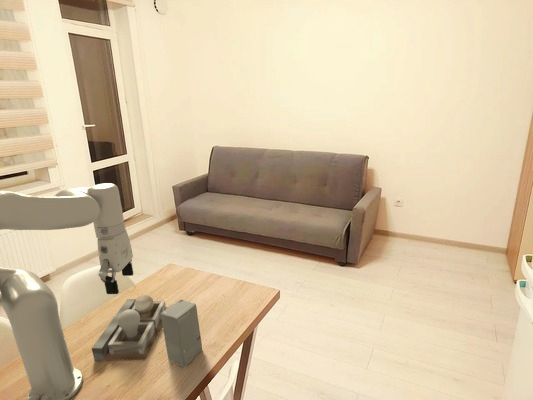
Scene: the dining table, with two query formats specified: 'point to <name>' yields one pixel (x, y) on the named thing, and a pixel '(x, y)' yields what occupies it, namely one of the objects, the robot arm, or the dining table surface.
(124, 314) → the lightbulb
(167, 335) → the skincare box
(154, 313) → the compartment tray
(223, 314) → the dining table surface
